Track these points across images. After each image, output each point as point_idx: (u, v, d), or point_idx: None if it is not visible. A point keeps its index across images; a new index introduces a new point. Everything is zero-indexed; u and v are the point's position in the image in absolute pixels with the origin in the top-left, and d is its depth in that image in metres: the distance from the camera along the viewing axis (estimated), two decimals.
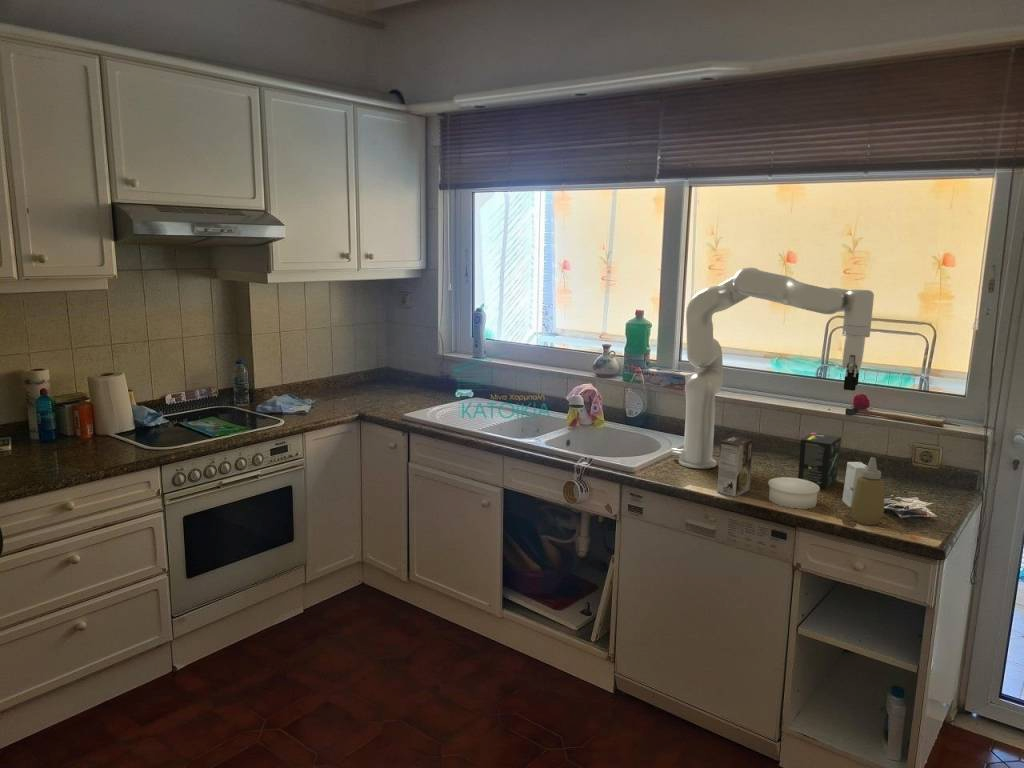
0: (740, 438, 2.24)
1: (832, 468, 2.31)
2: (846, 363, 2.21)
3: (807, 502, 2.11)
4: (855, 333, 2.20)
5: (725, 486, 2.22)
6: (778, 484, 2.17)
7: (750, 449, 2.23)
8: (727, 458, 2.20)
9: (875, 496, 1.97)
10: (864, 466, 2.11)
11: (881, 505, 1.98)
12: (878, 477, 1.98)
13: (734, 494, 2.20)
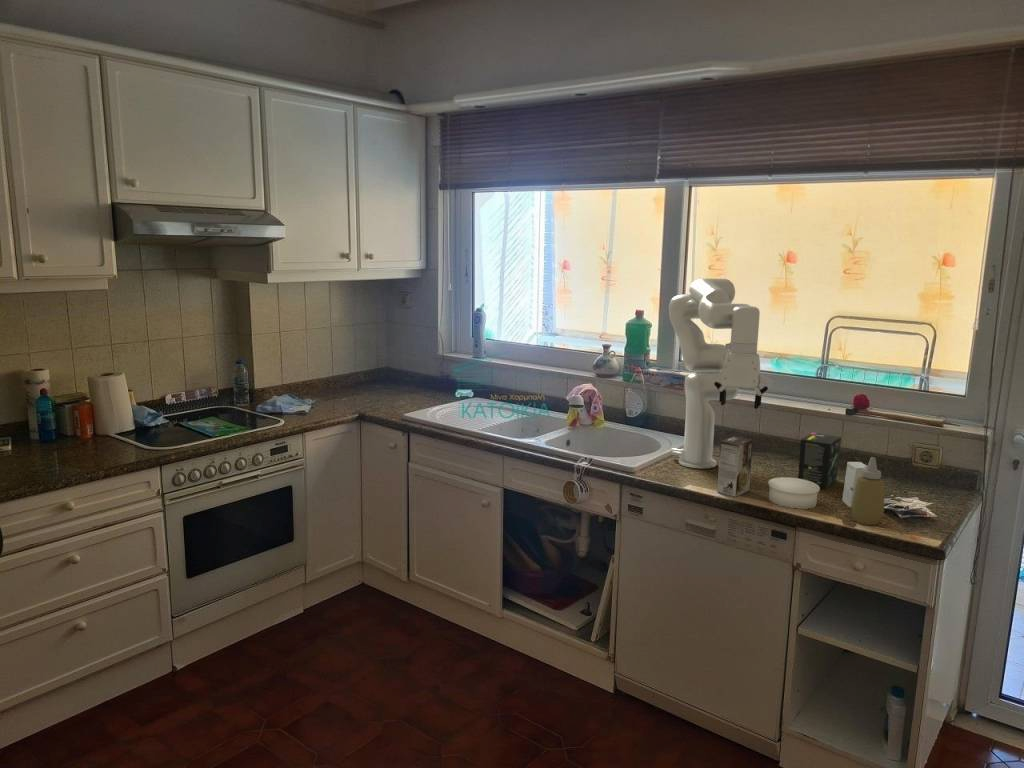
0: (740, 438, 2.24)
1: (832, 468, 2.31)
2: (758, 382, 2.15)
3: (807, 502, 2.11)
4: (756, 350, 2.16)
5: (725, 486, 2.22)
6: (778, 484, 2.17)
7: (750, 449, 2.23)
8: (727, 458, 2.20)
9: (875, 496, 1.97)
10: (864, 466, 2.11)
11: (881, 505, 1.98)
12: (878, 477, 1.98)
13: (734, 494, 2.20)
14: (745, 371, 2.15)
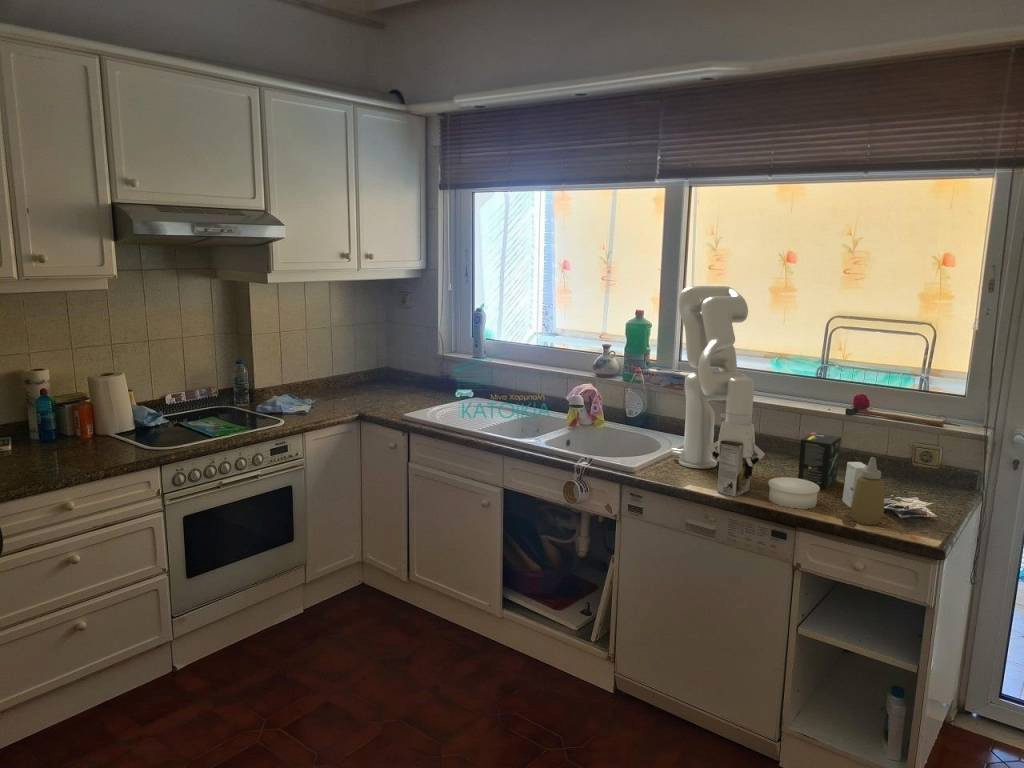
0: None
1: (832, 468, 2.31)
2: (751, 453, 2.19)
3: (807, 502, 2.11)
4: (751, 420, 2.20)
5: (725, 486, 2.22)
6: (778, 484, 2.17)
7: None
8: (727, 458, 2.20)
9: (875, 496, 1.97)
10: (864, 466, 2.11)
11: (881, 505, 1.98)
12: (878, 477, 1.98)
13: (734, 494, 2.20)
14: (739, 441, 2.19)
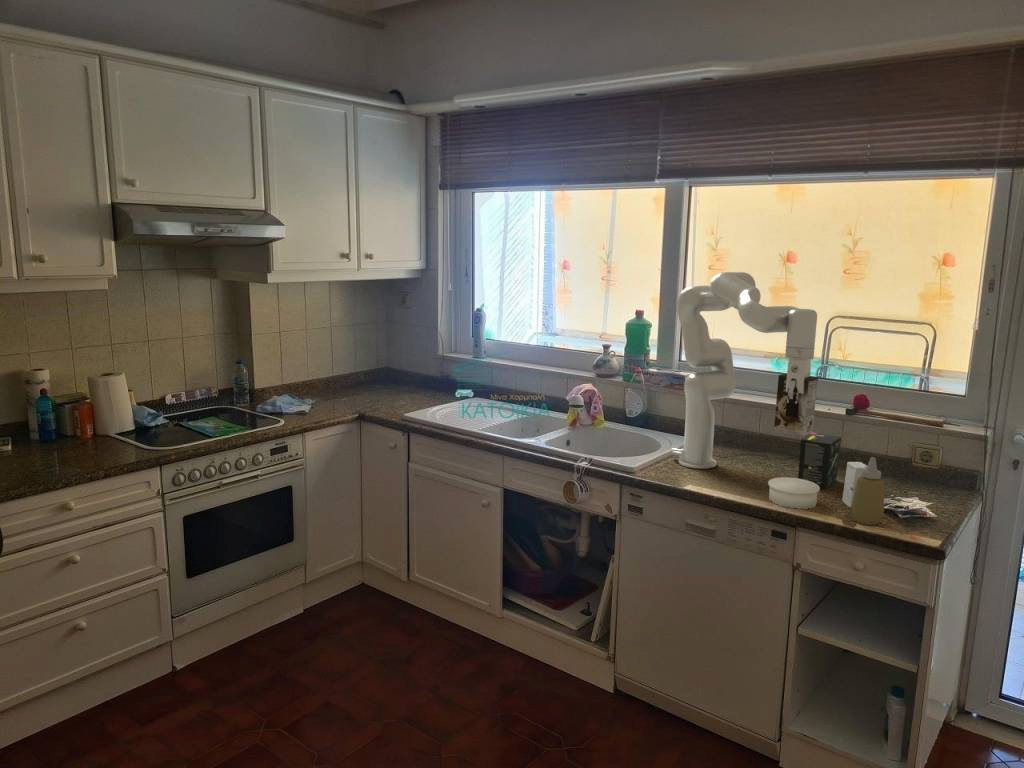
0: None
1: (832, 468, 2.31)
2: None
3: (807, 502, 2.11)
4: None
5: (808, 425, 2.10)
6: (778, 484, 2.17)
7: None
8: (811, 395, 2.09)
9: (875, 496, 1.97)
10: (864, 466, 2.11)
11: (881, 505, 1.98)
12: (878, 477, 1.98)
13: (812, 429, 2.13)
14: (809, 374, 2.11)
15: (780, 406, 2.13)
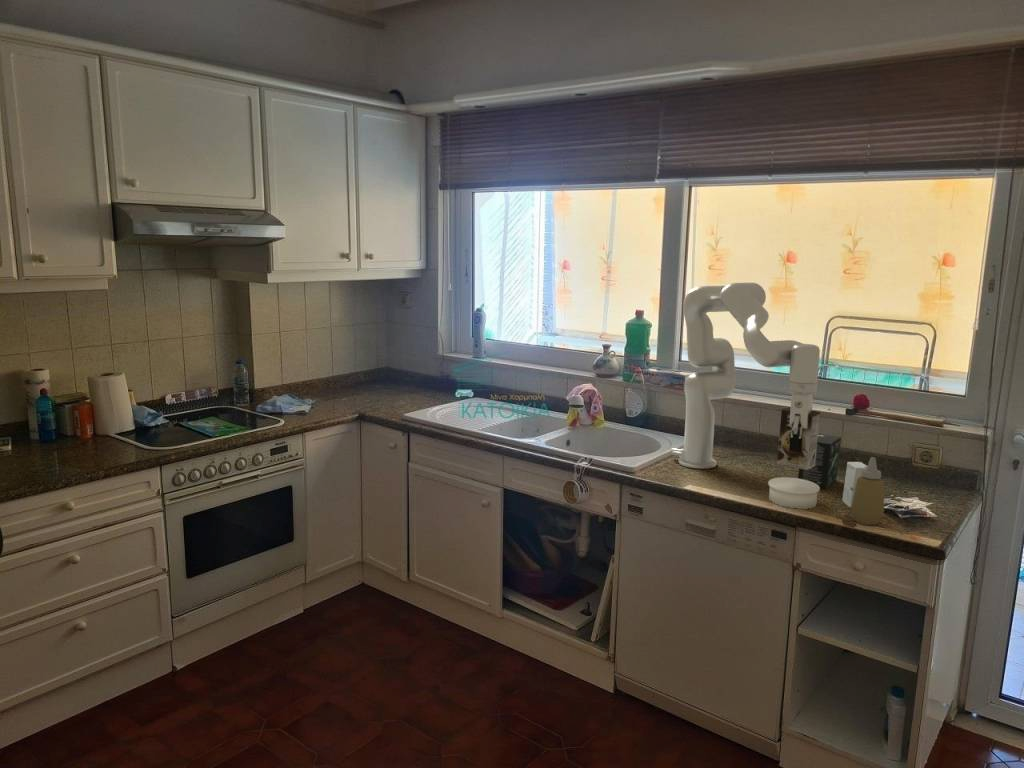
0: None
1: (832, 468, 2.31)
2: None
3: (807, 502, 2.11)
4: None
5: (811, 459, 2.12)
6: (778, 484, 2.17)
7: None
8: (814, 429, 2.10)
9: (875, 496, 1.97)
10: (864, 466, 2.11)
11: (881, 505, 1.98)
12: (878, 477, 1.98)
13: (814, 463, 2.14)
14: (811, 409, 2.12)
15: (783, 440, 2.14)
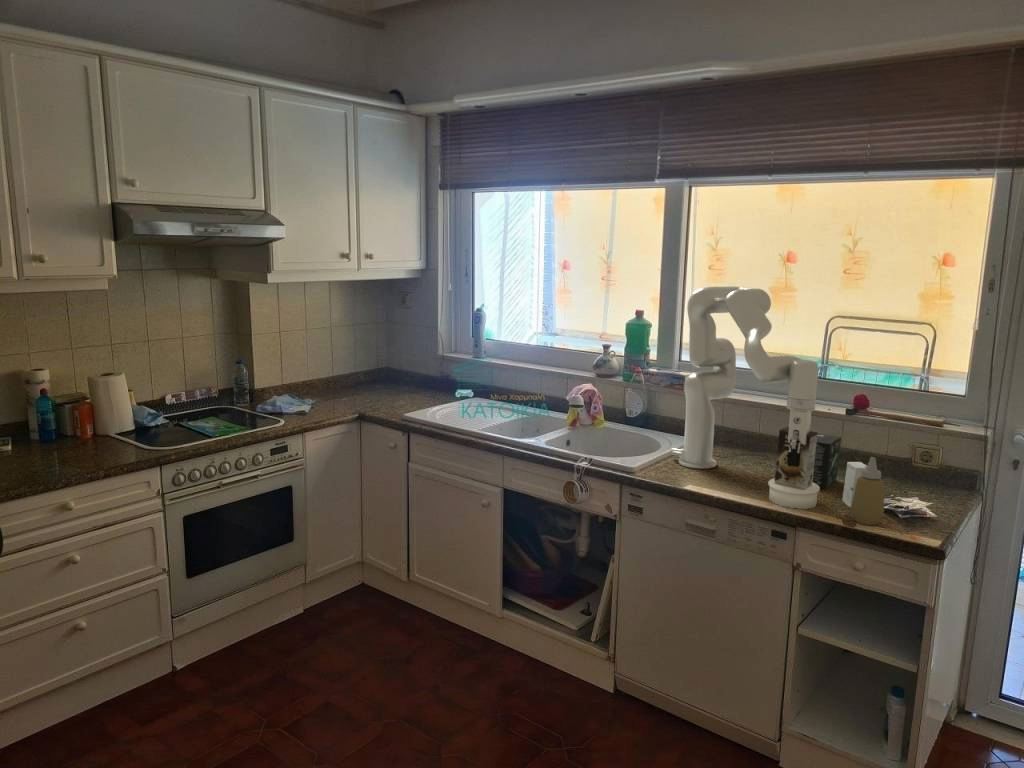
0: None
1: (832, 468, 2.31)
2: None
3: (807, 502, 2.11)
4: None
5: (809, 479, 2.13)
6: (778, 484, 2.17)
7: None
8: (812, 450, 2.11)
9: (875, 496, 1.97)
10: (864, 466, 2.11)
11: (881, 505, 1.98)
12: (878, 477, 1.98)
13: None
14: (810, 424, 2.13)
15: (781, 460, 2.15)
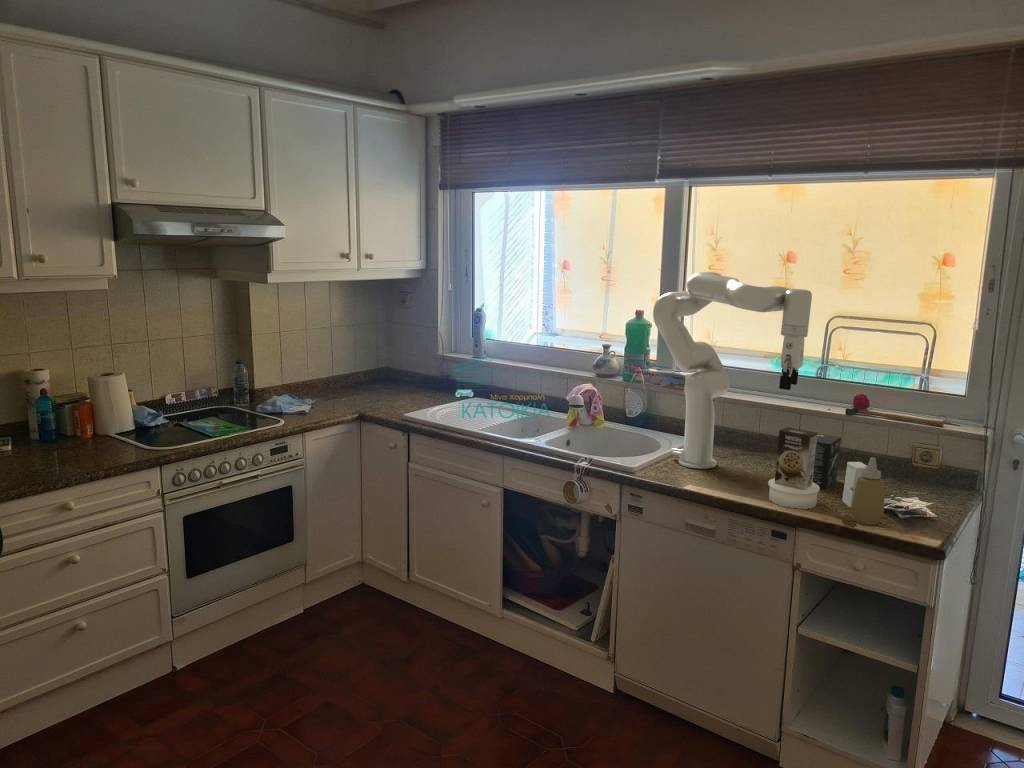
0: (789, 429, 2.15)
1: (832, 468, 2.31)
2: None
3: (807, 502, 2.11)
4: None
5: (809, 480, 2.13)
6: (778, 484, 2.17)
7: None
8: (812, 450, 2.11)
9: (875, 496, 1.97)
10: (864, 466, 2.11)
11: (881, 505, 1.98)
12: (878, 477, 1.98)
13: None
14: (802, 351, 2.24)
15: (781, 460, 2.15)
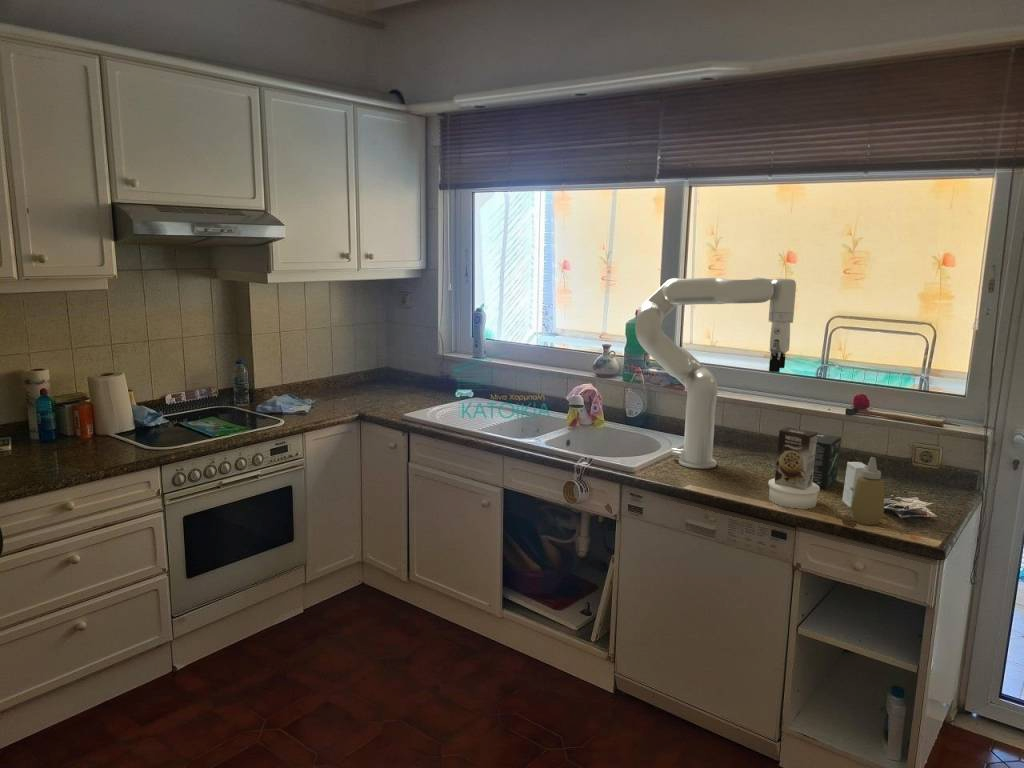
0: (789, 429, 2.15)
1: (832, 468, 2.31)
2: None
3: (807, 502, 2.11)
4: None
5: (809, 480, 2.13)
6: (778, 484, 2.17)
7: None
8: (812, 450, 2.11)
9: (875, 496, 1.97)
10: (864, 466, 2.11)
11: (881, 505, 1.98)
12: (878, 477, 1.98)
13: None
14: (789, 336, 2.42)
15: (781, 461, 2.15)
